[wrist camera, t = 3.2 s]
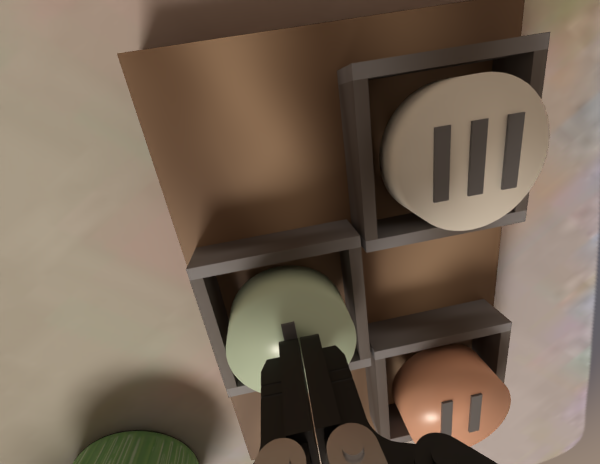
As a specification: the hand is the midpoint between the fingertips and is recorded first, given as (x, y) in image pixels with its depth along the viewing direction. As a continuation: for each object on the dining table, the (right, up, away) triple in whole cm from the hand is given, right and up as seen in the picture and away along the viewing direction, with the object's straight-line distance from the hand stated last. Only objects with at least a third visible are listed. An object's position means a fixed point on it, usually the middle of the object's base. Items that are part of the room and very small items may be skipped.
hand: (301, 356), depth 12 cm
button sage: (-1, +1, +2) cm, 2 cm away
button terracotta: (+7, -3, +5) cm, 9 cm away
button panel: (+2, +3, +6) cm, 7 cm away
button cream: (+5, +8, 0) cm, 9 cm away
